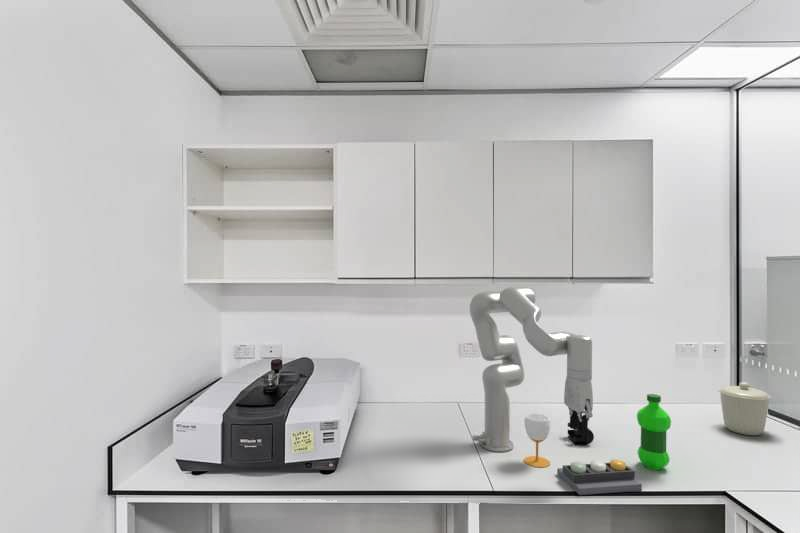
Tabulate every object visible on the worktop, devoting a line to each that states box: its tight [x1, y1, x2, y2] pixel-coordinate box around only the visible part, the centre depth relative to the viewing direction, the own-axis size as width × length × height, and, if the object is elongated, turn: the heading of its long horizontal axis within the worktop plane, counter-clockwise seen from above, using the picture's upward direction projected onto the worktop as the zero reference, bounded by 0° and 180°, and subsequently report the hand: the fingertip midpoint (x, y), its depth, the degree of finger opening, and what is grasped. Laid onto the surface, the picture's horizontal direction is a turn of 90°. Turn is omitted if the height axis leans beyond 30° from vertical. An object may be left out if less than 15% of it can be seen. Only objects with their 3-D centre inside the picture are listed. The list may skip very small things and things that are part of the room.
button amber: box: [609, 459, 627, 471], centre depth 150 cm, size 5×5×2 cm
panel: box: [556, 462, 643, 496], centre depth 149 cm, size 21×14×4 cm, turn 99°
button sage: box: [570, 461, 586, 474], centre depth 148 cm, size 5×5×2 cm
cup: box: [523, 413, 551, 468], centre depth 164 cm, size 9×9×16 cm
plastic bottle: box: [636, 393, 672, 471], centre depth 161 cm, size 10×10×25 cm
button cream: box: [590, 460, 606, 473], centre depth 149 cm, size 5×5×2 cm
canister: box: [718, 381, 772, 436], centre depth 196 cm, size 18×18×21 cm
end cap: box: [567, 422, 595, 447], centre depth 184 cm, size 10×7×7 cm
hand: (578, 430), depth 148 cm, fingers open, 3 cm apart
